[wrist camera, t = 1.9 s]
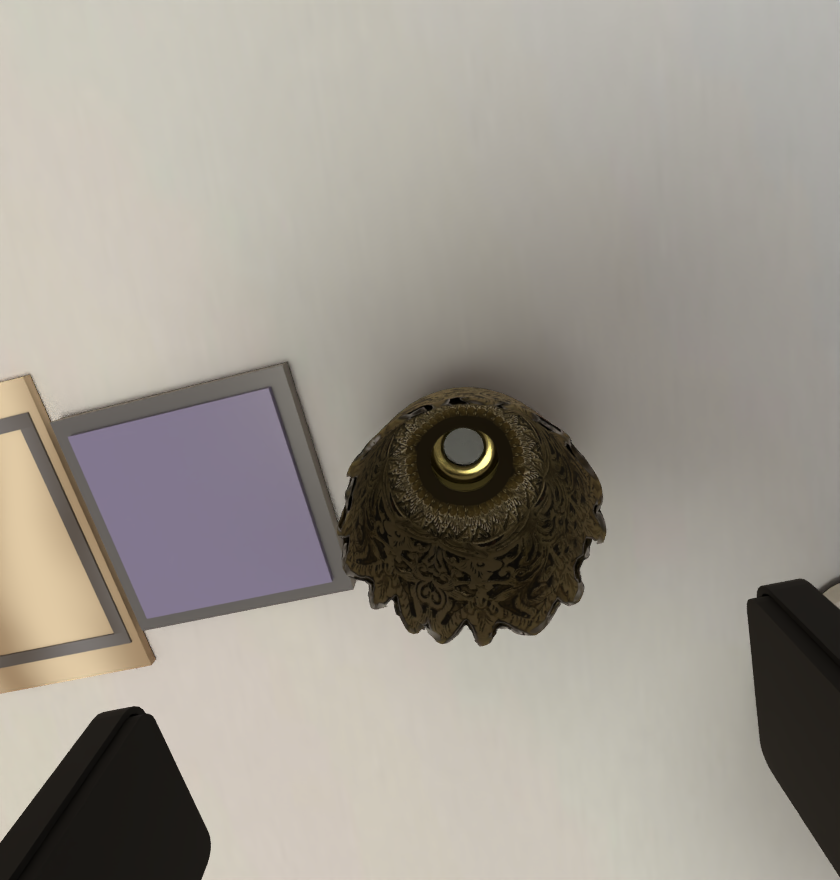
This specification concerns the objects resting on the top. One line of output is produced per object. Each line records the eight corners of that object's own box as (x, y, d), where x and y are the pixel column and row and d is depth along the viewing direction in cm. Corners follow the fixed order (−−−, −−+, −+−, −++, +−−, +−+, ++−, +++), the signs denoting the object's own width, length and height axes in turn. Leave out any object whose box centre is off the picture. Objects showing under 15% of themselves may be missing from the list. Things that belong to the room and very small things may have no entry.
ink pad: (287, 362, 23) (279, 366, 22) (356, 580, 25) (352, 593, 24) (60, 418, 24) (44, 424, 23) (149, 621, 27) (138, 634, 26)
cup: (402, 330, 22) (377, 364, 15) (583, 387, 22) (651, 450, 15) (352, 500, 24) (308, 607, 17) (518, 550, 25) (548, 678, 17)
